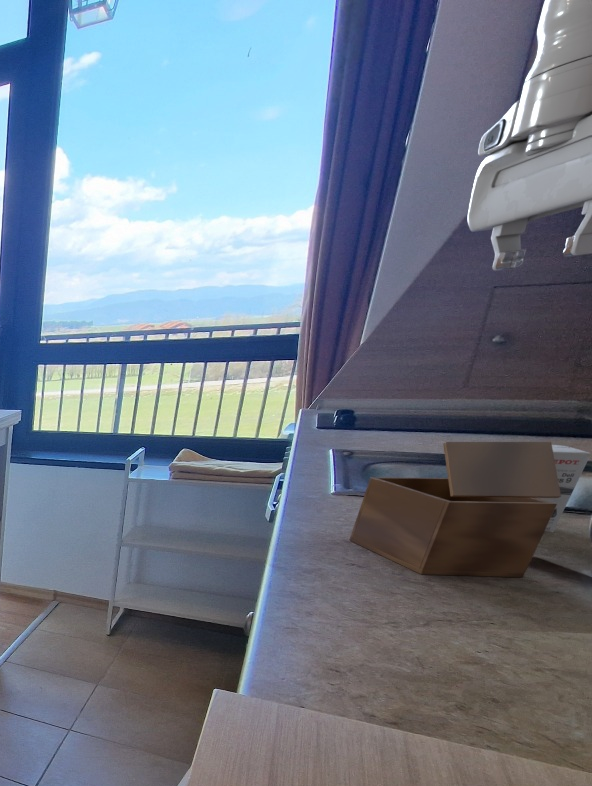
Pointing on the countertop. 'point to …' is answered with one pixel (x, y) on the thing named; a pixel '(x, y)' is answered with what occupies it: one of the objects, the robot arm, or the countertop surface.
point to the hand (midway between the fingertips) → (540, 262)
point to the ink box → (565, 478)
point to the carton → (449, 528)
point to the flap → (501, 469)
